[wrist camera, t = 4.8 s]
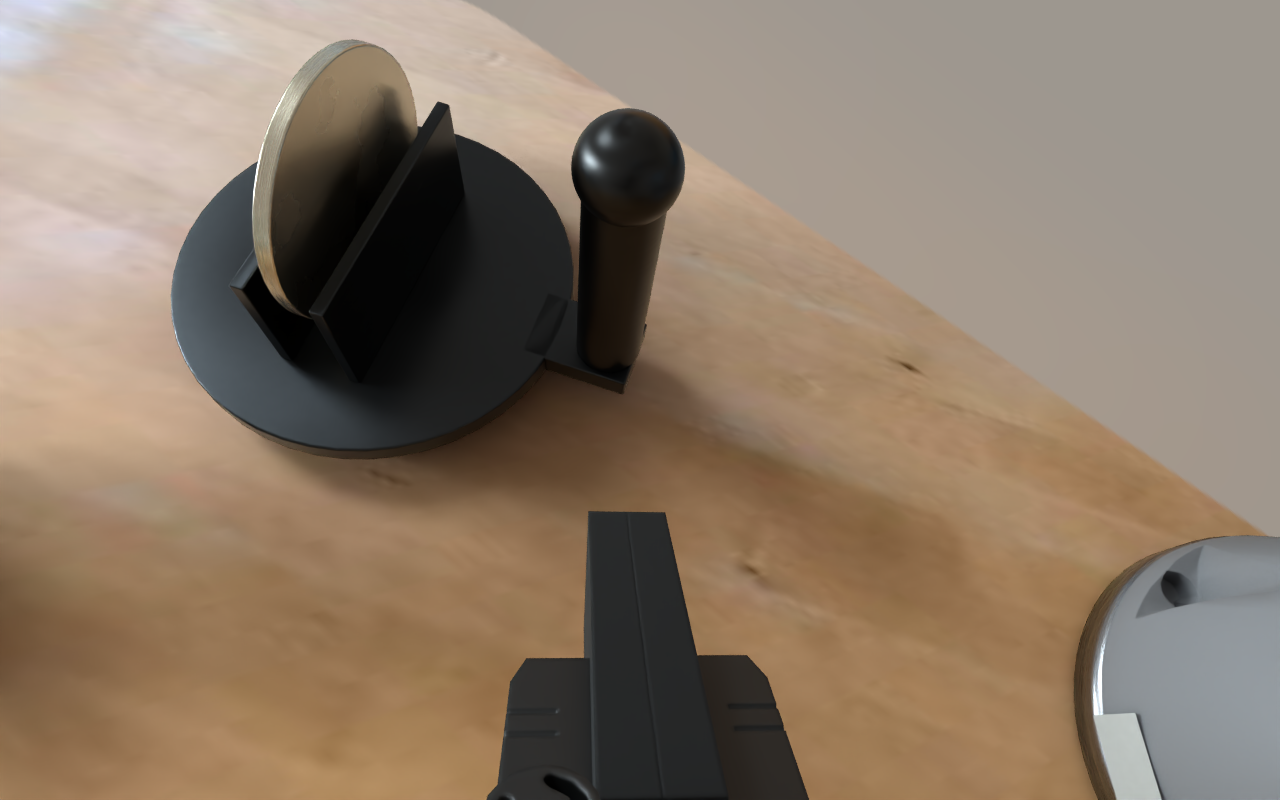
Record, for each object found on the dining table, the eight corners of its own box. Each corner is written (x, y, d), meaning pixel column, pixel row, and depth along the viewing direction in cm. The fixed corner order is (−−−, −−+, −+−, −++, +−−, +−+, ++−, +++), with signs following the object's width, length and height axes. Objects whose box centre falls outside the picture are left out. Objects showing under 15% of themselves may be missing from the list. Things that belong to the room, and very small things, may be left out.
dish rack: (695, 223, 34) (761, -39, 23) (578, 547, 28) (589, 406, 16) (303, 99, 35) (176, -215, 24) (97, 383, 28) (-223, 137, 17)
